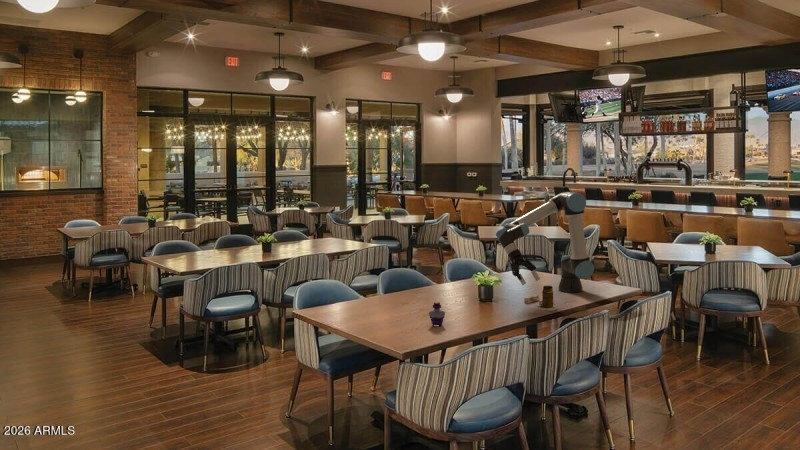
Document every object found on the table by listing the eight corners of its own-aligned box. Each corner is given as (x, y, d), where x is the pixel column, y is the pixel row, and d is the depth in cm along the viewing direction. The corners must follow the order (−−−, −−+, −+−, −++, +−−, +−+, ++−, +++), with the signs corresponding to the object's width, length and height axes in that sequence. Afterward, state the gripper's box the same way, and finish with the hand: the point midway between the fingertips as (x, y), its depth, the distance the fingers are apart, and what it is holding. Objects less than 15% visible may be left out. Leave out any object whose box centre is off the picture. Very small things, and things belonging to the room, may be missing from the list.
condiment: (556, 307, 362) (556, 286, 360) (546, 309, 357) (546, 288, 356) (546, 304, 368) (546, 284, 366) (536, 307, 363) (536, 286, 362)
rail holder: (536, 300, 385) (536, 295, 384) (553, 303, 376) (553, 298, 375) (524, 303, 377) (524, 298, 377) (540, 306, 368) (540, 301, 368)
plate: (545, 305, 371) (545, 303, 370) (561, 308, 362) (561, 306, 362) (533, 308, 363) (533, 306, 363) (549, 311, 355) (549, 310, 355)
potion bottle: (444, 322, 335) (444, 300, 334) (446, 327, 326) (446, 304, 325) (428, 323, 334) (427, 301, 333) (429, 327, 326) (429, 304, 325)
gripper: (521, 252, 391) (539, 281, 383) (496, 258, 374) (514, 289, 367) (529, 245, 386) (548, 275, 378) (503, 251, 369) (522, 282, 362)
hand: (531, 282), depth 373 cm, fingers open, 13 cm apart
